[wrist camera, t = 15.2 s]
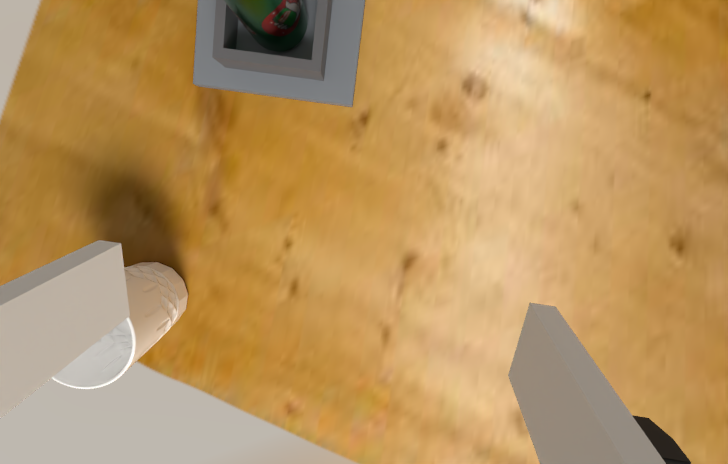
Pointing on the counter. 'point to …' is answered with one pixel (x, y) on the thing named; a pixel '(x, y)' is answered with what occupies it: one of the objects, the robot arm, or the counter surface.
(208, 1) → the mount
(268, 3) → the soda can
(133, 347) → the white cup
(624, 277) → the counter surface
